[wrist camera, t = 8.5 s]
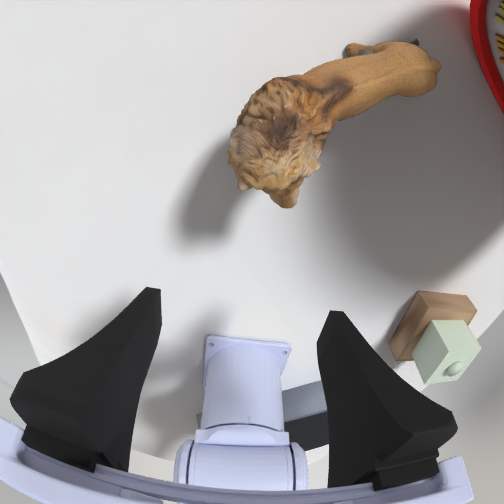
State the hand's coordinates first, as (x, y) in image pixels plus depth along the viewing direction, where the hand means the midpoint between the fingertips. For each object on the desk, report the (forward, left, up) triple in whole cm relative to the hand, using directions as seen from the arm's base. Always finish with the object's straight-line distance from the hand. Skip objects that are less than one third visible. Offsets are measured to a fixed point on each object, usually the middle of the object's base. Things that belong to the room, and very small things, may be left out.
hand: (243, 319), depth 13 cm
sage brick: (-8, -20, -8) cm, 23 cm away
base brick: (-8, -20, -10) cm, 24 cm away
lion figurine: (+9, -4, -11) cm, 15 cm away
